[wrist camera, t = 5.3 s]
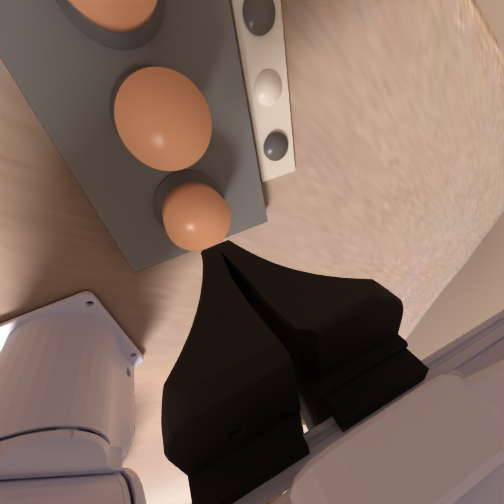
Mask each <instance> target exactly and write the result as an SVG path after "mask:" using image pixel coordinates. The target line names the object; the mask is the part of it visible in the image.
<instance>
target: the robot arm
mask: <svg viewBox="0 0 504 504" xmlns="http://www.w3.org/2000/svg"><path fill="white" fill-rule="evenodd" d="M201 255H202V260H203V279H202V287H201V294H200V300H199V304H198V308H197V312H196V315H195V318H194V322H193V325H192V328H191V330H190V333H189V335H188V338H187V340H186V342H185V345H184V347H183V349H182V351H181V354H180V356H179V358H178V360H177V362H176V363H175V365H174V367H173V369H172V371H171V373H170V375H169V376H168V378H167V380H166V382H165V384H164V387H163V396H162V416H161V424H162V436H163V445H164V454H165V456H166V457H167V459H168V460H169V461H170V462H171V463H173V464H174V465H175V466H176V467H178V468H179V469H180V470H181V471H183V472H184V473H185V474H186V475H188V480H189V486H190V492H191V499H192V504H267V503H269V502H270V501H272V500H273V499H275V498H276V497H278V496H279V495H281V494H282V493H284V492H285V491H286V490H287V491H286V492H285V493H284V494H282V495H281V496H280V497H279V498H277V499H276V500H275V501H274V502H272V503H271V504H504V310H502V311H501V312H499V313H497V314H496V315H494V316H493V317H491V318H489V319H488V320H486V321H485V322H483V323H481V324H480V325H478V326H476V327H475V328H473V329H472V330H470V331H468V332H467V333H465V334H464V335H462V336H460V337H459V338H457V339H456V340H454V341H452V342H451V343H449V344H447V345H446V346H444V347H443V348H441V349H439V350H438V351H436V352H435V353H433V354H431V355H430V356H428V357H427V358H425V359H423V360H422V361H420V360H419V359H418V358H417V357H416V356H414V355H413V354H412V353H411V352H410V351H409V350H408V349H407V348H406V347H407V346H408V344H407V342H406V341H405V340H404V339H403V338H402V337H401V336H399V335H398V331H399V327H400V323H401V320H402V315H403V305H402V301H401V300H400V299H399V298H398V297H397V296H395V295H394V294H393V293H391V292H390V291H389V290H387V289H386V288H385V287H383V286H382V285H380V284H379V283H377V282H376V281H374V280H373V279H354V278H339V277H331V276H323V275H317V274H312V273H307V272H302V271H298V270H294V269H291V268H287V267H284V266H281V265H278V264H275V263H272V262H270V261H267V260H265V259H263V258H261V257H259V256H257V255H254V254H252V253H250V252H249V251H247V250H245V249H243V248H241V247H239V246H238V245H236V244H234V243H233V242H231V241H229V240H227V241H225V242H222V243H219V244H217V245H214V246H212V247H209V248H207V249H204V250H202V252H201ZM88 301H92V302H93V303H88ZM132 353H134V354H132ZM143 360H144V357H143V355H142V354H141V352H140V351H139V350H138V349H137V347H136V346H135V345H134V344H133V342H132V341H131V340H130V339H129V337H128V336H127V335H126V334H125V332H124V331H123V330H122V329H121V327H120V326H119V325H118V324H117V322H116V321H115V320H114V319H113V317H112V316H111V315H110V314H109V312H108V311H107V310H106V309H105V307H104V306H103V305H102V304H101V302H100V301H99V300H98V299H97V297H96V296H95V295H94V294H93V293H92V292H90V291H84V292H81V293H78V294H76V295H73V296H70V297H68V298H65V299H63V300H60V301H57V302H55V303H52V304H50V305H47V306H44V307H42V308H39V309H37V310H34V311H32V312H29V313H26V314H24V315H21V316H19V317H16V318H13V319H11V320H8V321H6V322H3V323H0V504H146V499H145V495H144V491H143V487H142V484H141V481H140V479H139V477H138V475H137V474H136V473H135V472H134V471H133V470H131V469H128V468H122V460H123V459H124V457H125V455H126V453H127V451H128V449H129V446H130V444H131V441H132V437H133V434H134V427H135V410H134V366H136V365H138V364H140V363H142V362H143ZM300 414H301V415H300ZM301 416H302V418H303V420H304V422H305V424H306V426H307V428H308V430H309V431H308V432H306V433H304V432H303V426H302V421H301ZM289 488H290V489H289ZM288 489H289V490H288Z"/></svg>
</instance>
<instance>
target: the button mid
mask: <svg viewBox="0 0 504 504" xmlns="http://www.w3.org/2000/svg"><path fill="white" fill-rule="evenodd" d="M114 117H115V123H116V127H117V130H118V133H119V135H120V137H121V139H122V141H123V143H124V144H125V146H126V147H127V149H128V150H129V151H130V152H131V153H132V154H133V155H134V156H135V157H136V158H137V159H138V160H140V161H141V162H142V163H144V164H146V165H148V166H150V167H152V168H155V169H158V170H163V171H178V170H182V169H185V168H187V167H189V166H191V165H193V164H194V163H196V162H197V161H198V160H199V159H200V158H201V157H202V155H203V154H204V153H205V151H206V149H207V147H208V145H209V142H210V138H211V132H212V121H211V115H210V111H209V107H208V105H207V102H206V100H205V98H204V97H203V95H202V93H201V92H200V90H199V89H198V88H197V87H196V86H195V85H194V83H193V82H192V81H190V80H189V79H188V78H187V77H185V76H184V75H182V74H181V73H179V72H177V71H175V70H172V69H169V68H164V67H147V68H143V69H140V70H138V71H136V72H134V73H133V74H131V75H130V76H129V77H128V78H127V79H126V80H125V81H124V82H123V84H122V85H121V87H120V88H119V91H118V93H117V96H116V99H115V105H114Z"/></svg>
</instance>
